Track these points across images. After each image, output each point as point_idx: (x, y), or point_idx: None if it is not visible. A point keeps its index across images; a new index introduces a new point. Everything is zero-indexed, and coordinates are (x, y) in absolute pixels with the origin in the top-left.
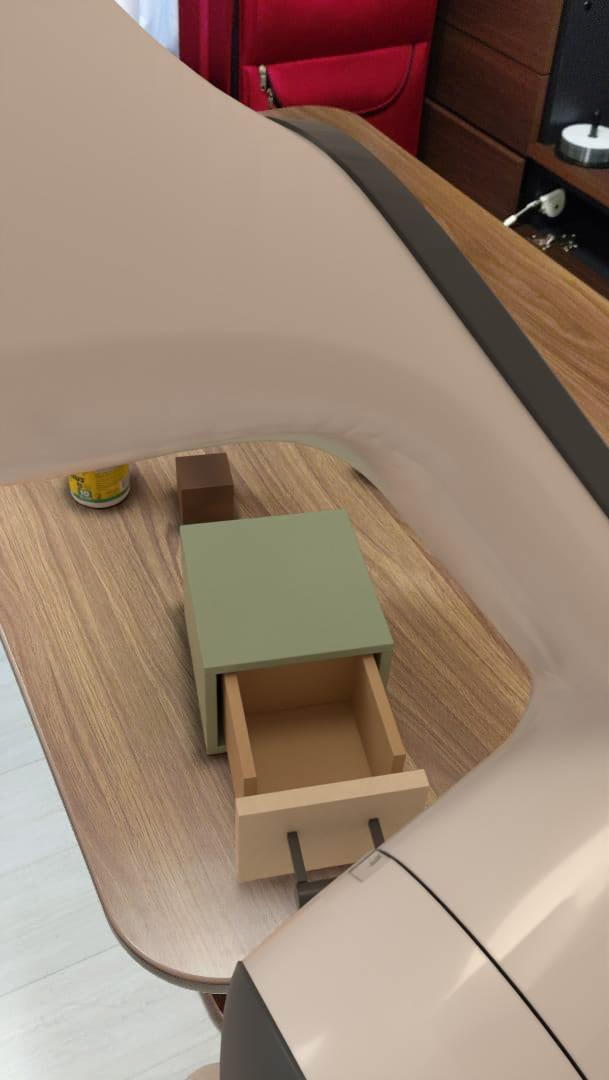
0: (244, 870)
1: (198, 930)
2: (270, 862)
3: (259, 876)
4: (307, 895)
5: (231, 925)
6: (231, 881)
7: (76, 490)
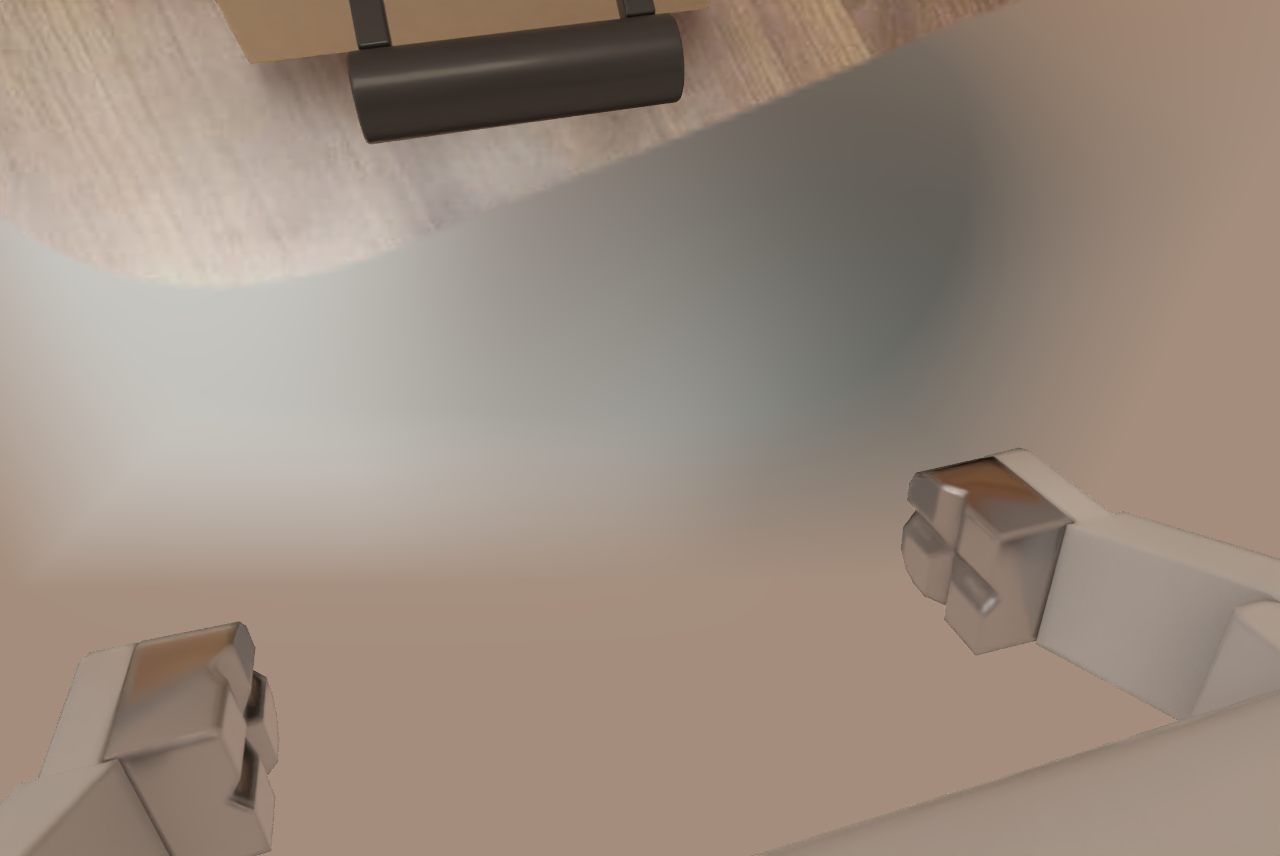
0: (246, 26)
1: (155, 182)
2: (317, 5)
3: (304, 49)
4: (382, 87)
5: (243, 172)
6: (243, 63)
7: None
